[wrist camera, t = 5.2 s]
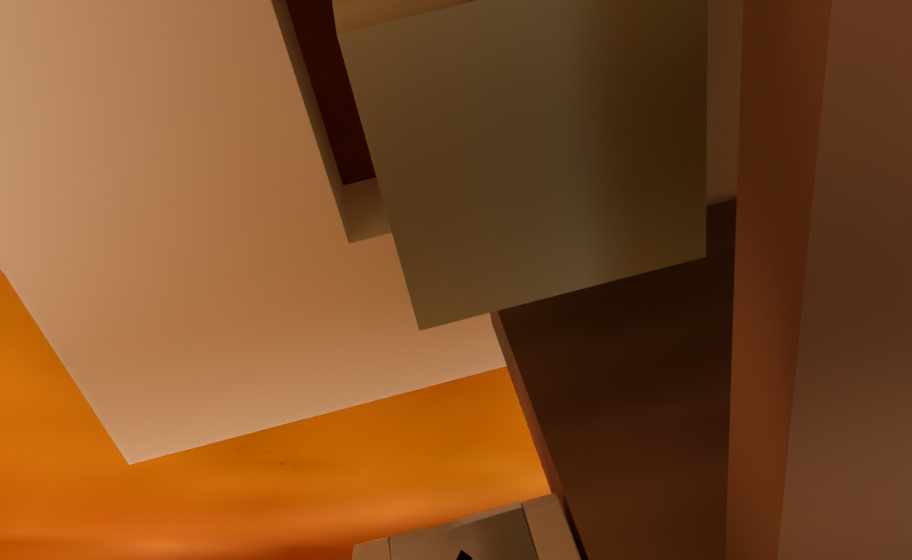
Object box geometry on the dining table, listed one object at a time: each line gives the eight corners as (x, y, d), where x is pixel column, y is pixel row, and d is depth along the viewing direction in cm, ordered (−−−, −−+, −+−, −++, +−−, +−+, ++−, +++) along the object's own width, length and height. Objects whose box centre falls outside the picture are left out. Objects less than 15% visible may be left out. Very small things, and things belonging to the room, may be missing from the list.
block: (321, -73, 13) (336, 34, 8) (536, -124, 14) (707, -56, 8) (376, 131, 16) (419, 330, 10) (559, 85, 16) (706, 257, 10)
